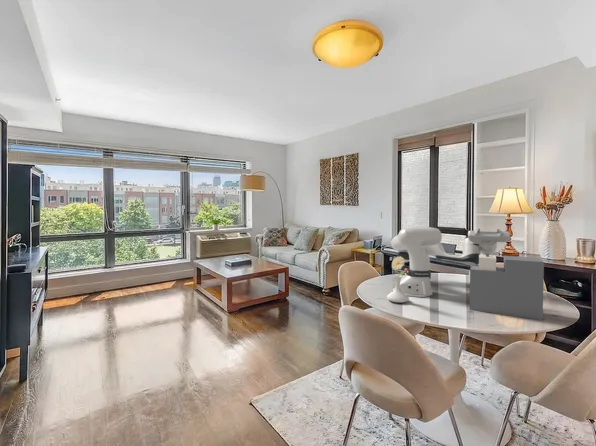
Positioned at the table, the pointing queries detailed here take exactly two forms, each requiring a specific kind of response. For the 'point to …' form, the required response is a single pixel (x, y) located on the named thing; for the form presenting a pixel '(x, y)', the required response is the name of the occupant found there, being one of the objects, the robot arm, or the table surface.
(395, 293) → the flower in vase
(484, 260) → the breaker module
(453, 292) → the table surface
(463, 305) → the table surface
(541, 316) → the stand
